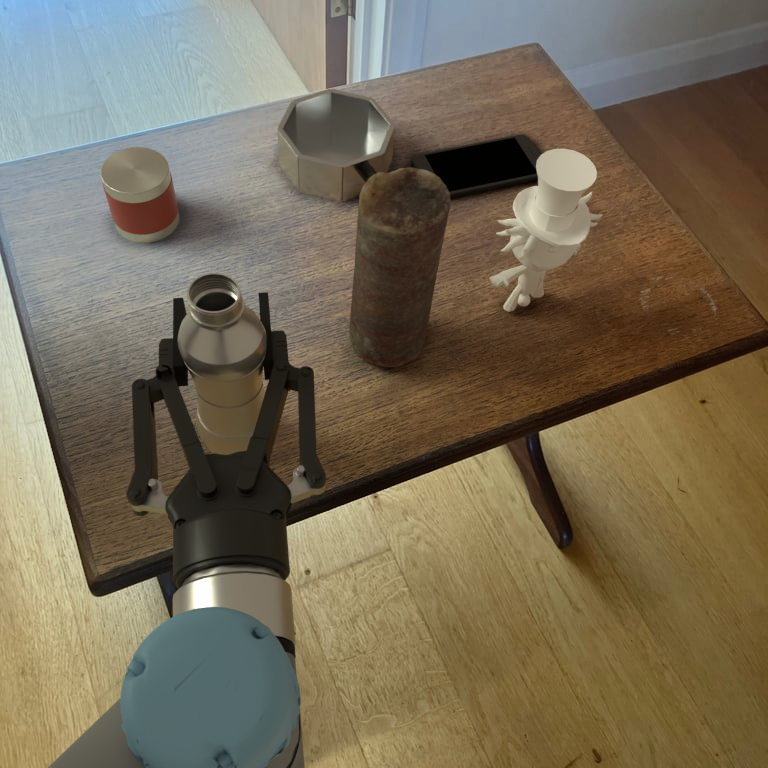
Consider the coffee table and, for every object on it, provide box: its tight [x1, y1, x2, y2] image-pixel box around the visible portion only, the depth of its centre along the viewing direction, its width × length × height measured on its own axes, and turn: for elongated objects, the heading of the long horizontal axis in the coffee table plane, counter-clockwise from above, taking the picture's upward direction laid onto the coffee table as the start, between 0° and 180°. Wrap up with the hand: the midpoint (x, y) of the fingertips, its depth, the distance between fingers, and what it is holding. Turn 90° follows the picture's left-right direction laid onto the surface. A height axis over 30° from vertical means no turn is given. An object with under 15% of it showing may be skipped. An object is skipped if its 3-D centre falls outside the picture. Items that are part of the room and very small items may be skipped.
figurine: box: [489, 148, 604, 313], centre depth 76 cm, size 10×8×18 cm
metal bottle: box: [177, 272, 267, 455], centre depth 64 cm, size 6×7×20 cm
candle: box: [348, 166, 452, 368], centre depth 71 cm, size 8×7×20 cm
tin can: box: [100, 146, 180, 244], centre depth 84 cm, size 7×7×7 cm
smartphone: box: [410, 134, 542, 199], centre depth 94 cm, size 7×15×1 cm, turn 109°
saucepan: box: [276, 88, 396, 203], centre depth 90 cm, size 18×12×5 cm, turn 30°
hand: (222, 306), depth 65 cm, fingers closed on metal bottle, 6 cm apart
